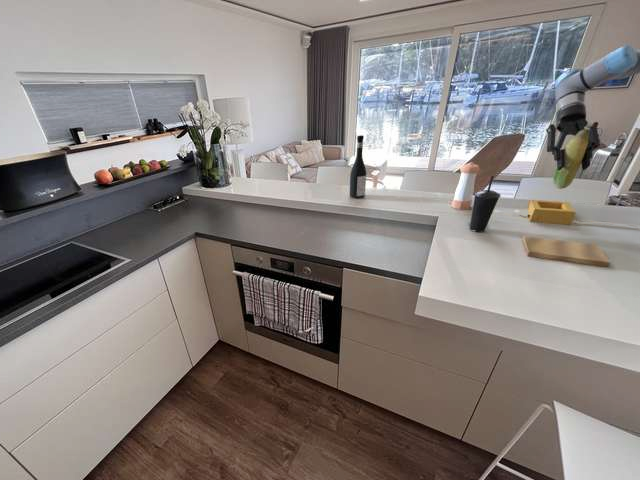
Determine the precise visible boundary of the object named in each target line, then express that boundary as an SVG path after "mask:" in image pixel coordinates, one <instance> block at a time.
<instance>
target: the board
mask: <svg viewBox="0 0 640 480" xmlns="http://www.w3.org/2000/svg"><path fill="white" fill-rule="evenodd" d="M522 240H523V241H522V243H524V244H523V247H524V250H525V254H526V253H527V254H526V256H527V257H531V256H532V257H531V258H540V259H546V260H554V261H560V262H569V263H575V264H576V263H577V264H582V265H583V264H584V265H591V266H598V267H605V268H608V267H609V266H610V264H611V261H610V260H609V258H608V257H607V256H606V255H605V253H604V252H603V250H602V249H601V248H600V247H599V245H598V244H596V243H587V242H578V241H567V240H561V239H549V238H543V237H533V236H523V237H522Z"/></svg>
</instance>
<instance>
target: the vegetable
mask: <svg viewBox="0 0 640 480" xmlns="http://www.w3.org/2000/svg"><path fill="white" fill-rule="evenodd" d="M588 133H589V131H588V130H587V128H585V129H583V130H581V131H579V132H578V133H577V134H576V135H575V136H574V135H573V136H572V138H570V139H569V141H568V142H567V144H566V145H565V146H564V148H563V149H564V161H565V166H564V167H563V168H562V169H561V170H557V165H556V166H555V170H554V173H553V177H552V182H553V183H552V184H553V186H554V187H555V188H556V189H558V190H562V189H567V188H568V187H569V186H571V184H572V183H573V181H574V180H575V177H576V176H577V174H578V172H579V170H580V168H581V166H582V160H583V157H584V154H585V150H586V148H587V144H588Z"/></svg>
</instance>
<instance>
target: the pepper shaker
mask: <svg viewBox="0 0 640 480" xmlns="http://www.w3.org/2000/svg"><path fill="white" fill-rule="evenodd" d="M480 171H481V168H480V165H478V164H476V163H474V162H473V161H471V162H469V163H465V164H463V165H462V166H460V168H459V172H460V173H461V174H460V178H459V182H458V184H457V186H456V189H455V193H454V197H453V198H452V202H451V208H454V209H456V210H468V209H470V208H471V206H472V204H473V203H472V202H473V199H472V198H473V195H474V191H475V190H474V189H475V188H474V187H475V181H476V177H477V174H478V173H479V172H480Z"/></svg>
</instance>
